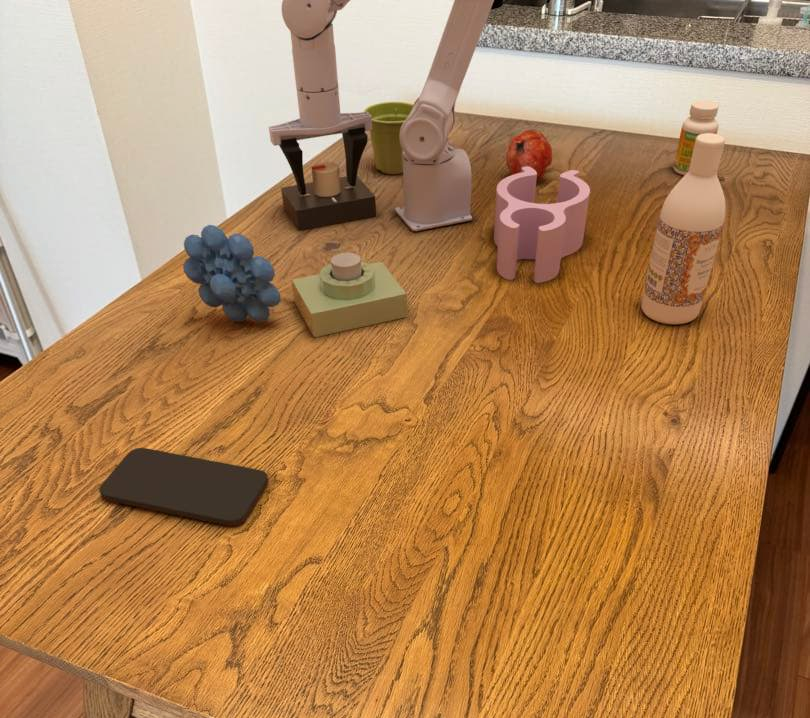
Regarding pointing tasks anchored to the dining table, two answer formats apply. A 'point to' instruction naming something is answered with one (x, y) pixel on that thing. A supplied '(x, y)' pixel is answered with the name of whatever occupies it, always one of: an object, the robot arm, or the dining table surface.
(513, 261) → the clip
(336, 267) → the pink push button
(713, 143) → the bath foam
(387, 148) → the plant pot
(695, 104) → the supplement bottle
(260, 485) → the phone
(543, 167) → the pomegranate
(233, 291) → the grapes
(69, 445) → the dining table surface
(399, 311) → the green button base
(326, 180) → the dial
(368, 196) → the dial panel
